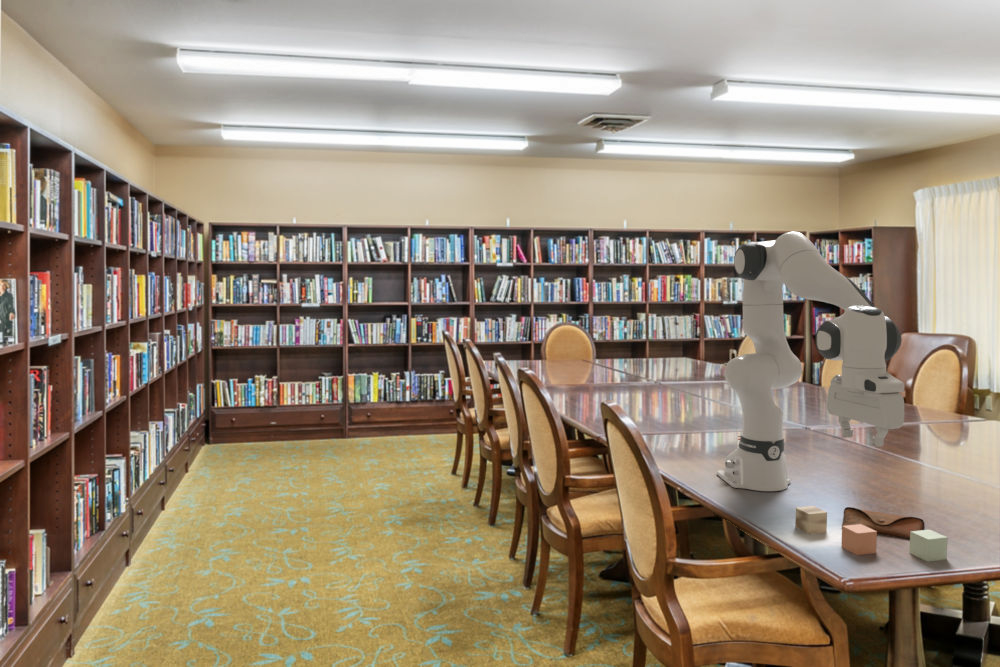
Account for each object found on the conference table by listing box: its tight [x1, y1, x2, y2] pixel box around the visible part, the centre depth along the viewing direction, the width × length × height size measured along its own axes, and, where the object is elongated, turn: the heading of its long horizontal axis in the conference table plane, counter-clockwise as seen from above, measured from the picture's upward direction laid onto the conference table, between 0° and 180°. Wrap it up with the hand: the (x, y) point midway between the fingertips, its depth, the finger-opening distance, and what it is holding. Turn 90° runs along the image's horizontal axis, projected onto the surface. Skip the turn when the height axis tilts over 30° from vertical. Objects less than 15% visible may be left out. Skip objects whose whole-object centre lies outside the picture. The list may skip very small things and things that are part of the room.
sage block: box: [909, 529, 948, 562], centre depth 162 cm, size 5×5×5 cm
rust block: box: [840, 524, 878, 556], centre depth 166 cm, size 5×5×5 cm
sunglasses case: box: [840, 506, 926, 540], centre depth 179 cm, size 18×7×7 cm, turn 59°
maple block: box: [794, 505, 828, 535], centre depth 179 cm, size 5×5×5 cm
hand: (862, 441), depth 164 cm, fingers open, 8 cm apart
